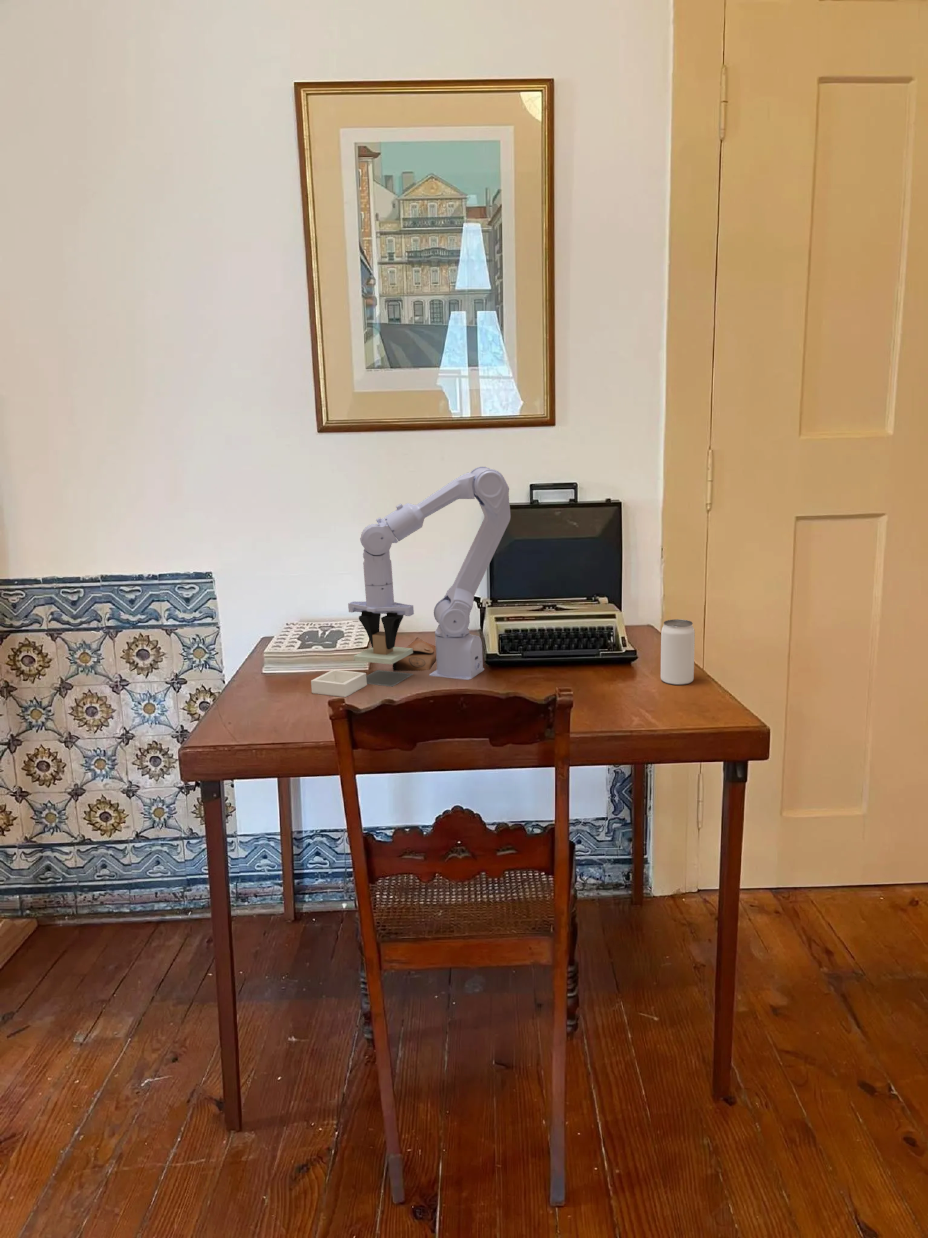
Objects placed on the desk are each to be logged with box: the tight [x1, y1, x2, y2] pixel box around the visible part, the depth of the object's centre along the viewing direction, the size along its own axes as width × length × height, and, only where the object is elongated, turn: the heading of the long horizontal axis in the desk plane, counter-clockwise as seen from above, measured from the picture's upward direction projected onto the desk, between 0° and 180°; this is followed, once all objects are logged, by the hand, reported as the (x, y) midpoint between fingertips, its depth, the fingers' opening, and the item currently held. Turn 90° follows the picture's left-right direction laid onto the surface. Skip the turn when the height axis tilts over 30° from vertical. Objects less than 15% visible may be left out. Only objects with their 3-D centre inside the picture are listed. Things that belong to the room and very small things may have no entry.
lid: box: [353, 630, 413, 665], centre depth 182 cm, size 9×9×5 cm
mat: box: [366, 669, 414, 688], centre depth 183 cm, size 9×9×1 cm
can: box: [660, 618, 696, 686], centre depth 174 cm, size 6×6×12 cm
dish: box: [310, 669, 368, 698], centre depth 177 cm, size 8×8×3 cm
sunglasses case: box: [392, 637, 436, 672], centre depth 196 cm, size 18×7×7 cm
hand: (383, 647), depth 182 cm, fingers closed on lid, 3 cm apart
